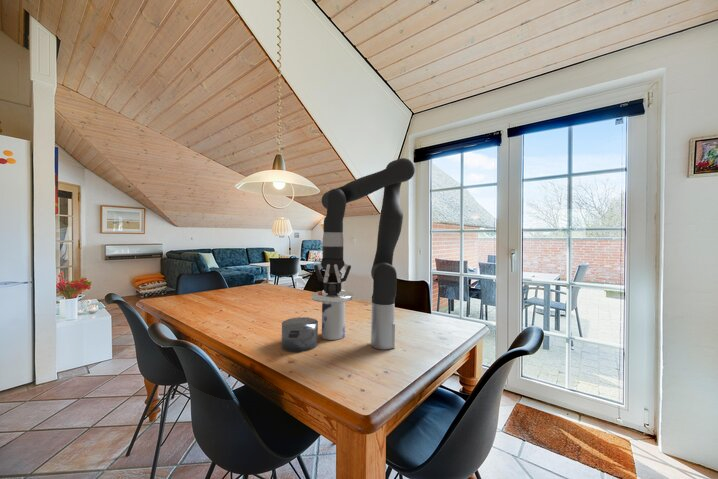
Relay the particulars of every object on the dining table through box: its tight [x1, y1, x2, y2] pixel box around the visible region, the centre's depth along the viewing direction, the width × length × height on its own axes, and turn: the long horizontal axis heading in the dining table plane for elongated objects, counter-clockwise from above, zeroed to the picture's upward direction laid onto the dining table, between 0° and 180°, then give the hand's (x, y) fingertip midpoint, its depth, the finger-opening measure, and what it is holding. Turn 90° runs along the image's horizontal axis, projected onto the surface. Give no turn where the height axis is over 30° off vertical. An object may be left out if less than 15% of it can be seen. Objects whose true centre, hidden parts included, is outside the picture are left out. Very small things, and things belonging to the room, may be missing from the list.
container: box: [321, 288, 346, 341], centre depth 122 cm, size 10×10×20 cm
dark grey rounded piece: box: [281, 316, 319, 353], centre depth 111 cm, size 21×14×9 cm, turn 178°
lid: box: [310, 282, 354, 303], centre depth 100 cm, size 15×15×5 cm
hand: (332, 292), depth 100 cm, fingers closed on lid, 3 cm apart
